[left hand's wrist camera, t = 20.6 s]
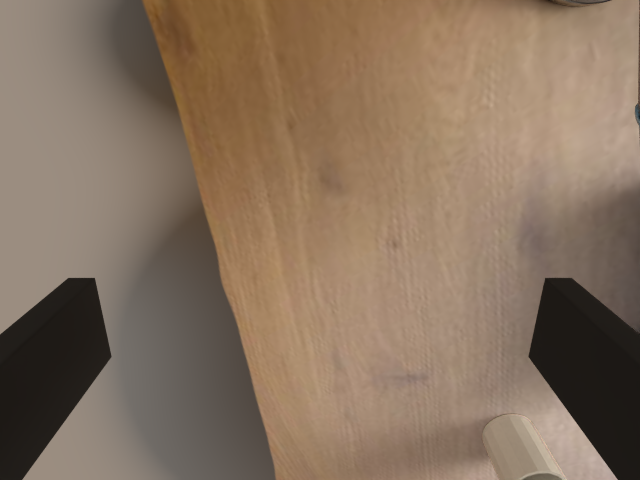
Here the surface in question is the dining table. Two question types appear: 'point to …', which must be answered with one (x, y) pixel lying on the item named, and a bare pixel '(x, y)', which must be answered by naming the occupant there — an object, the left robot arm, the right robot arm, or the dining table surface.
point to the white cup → (519, 450)
